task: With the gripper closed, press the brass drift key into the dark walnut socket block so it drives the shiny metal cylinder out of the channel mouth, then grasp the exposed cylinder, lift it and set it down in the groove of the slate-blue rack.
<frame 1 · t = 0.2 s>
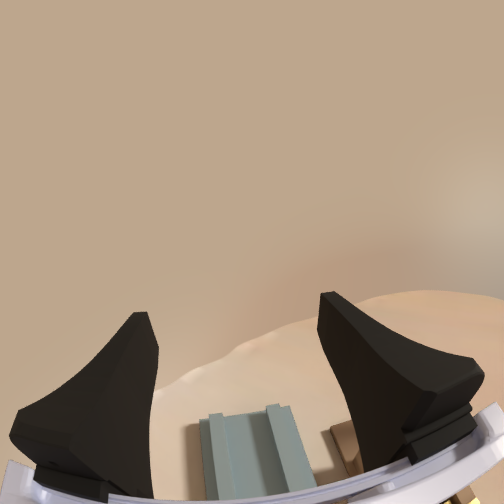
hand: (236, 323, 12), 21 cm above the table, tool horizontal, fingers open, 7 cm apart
socket block: (409, 500, 16), on the table
rack: (254, 463, 23), on the table
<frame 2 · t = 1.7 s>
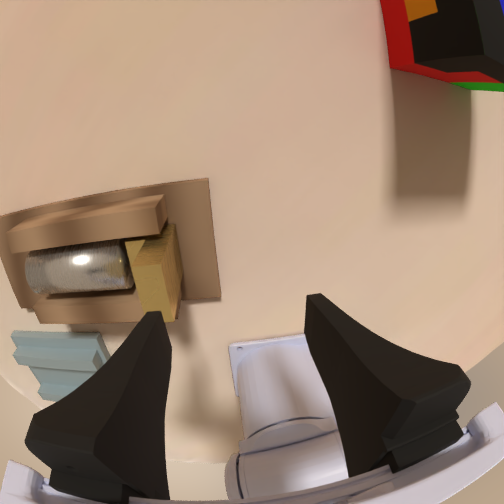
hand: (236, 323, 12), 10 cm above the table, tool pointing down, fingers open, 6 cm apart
drift key: (150, 270, 17), point 4 cm above the table, slide at 0.0 cm
socket block: (112, 249, 20), on the table
shiny metal cylinder: (87, 256, 20), point 1 cm above the table, touching socket block
rack: (70, 366, 25), on the table
puzzle toy: (427, 28, 15), on the table
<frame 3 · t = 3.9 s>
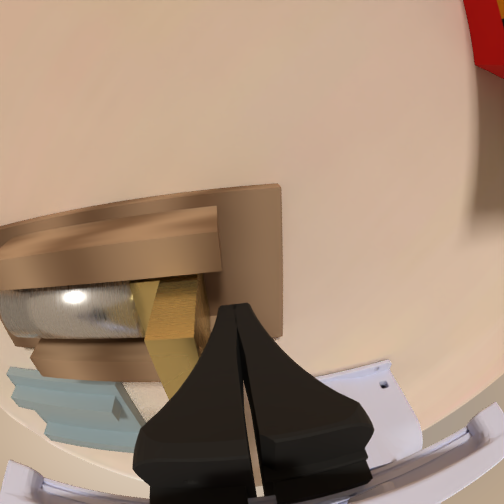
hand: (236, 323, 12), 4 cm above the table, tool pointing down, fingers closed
drift key: (169, 323, 12), point 4 cm above the table, slide at 1.5 cm, touching shiny metal cylinder, gripper
socket block: (135, 280, 15), on the table
shiny metal cylinder: (84, 292, 14), point 1 cm above the table, tilted 15°, touching drift key, socket block
rack: (81, 407, 20), on the table
puzzle toy: (499, 27, 10), on the table
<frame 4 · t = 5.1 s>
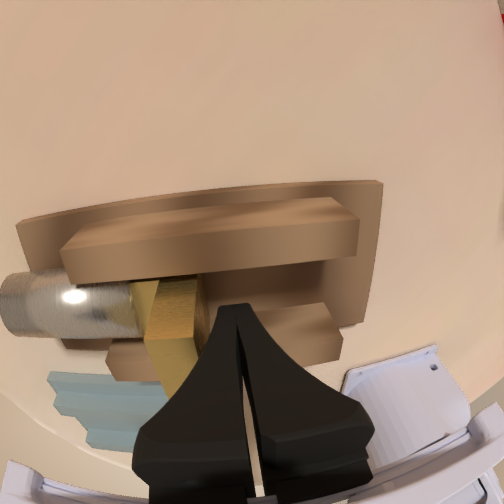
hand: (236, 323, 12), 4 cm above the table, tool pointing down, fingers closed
drift key: (168, 323, 12), point 4 cm above the table, slide at 7.0 cm, touching shiny metal cylinder, gripper
socket block: (232, 270, 16), on the table
shiny metal cylinder: (83, 292, 14), point 1 cm above the table, tilted 15°, touching drift key
rack: (132, 411, 21), on the table
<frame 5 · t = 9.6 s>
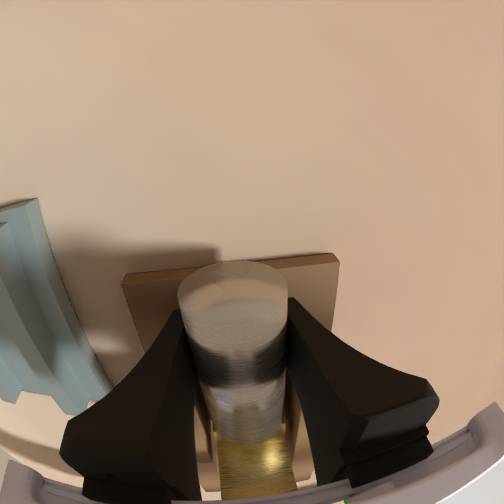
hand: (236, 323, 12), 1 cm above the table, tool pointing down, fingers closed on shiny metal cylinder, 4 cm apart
drift key: (252, 450, 12), point 4 cm above the table, slide at 7.1 cm
socket block: (247, 418, 17), on the table
shiny metal cylinder: (237, 338, 13), point 1 cm above the table, touching gripper, socket block
rack: (11, 315, 12), on the table
when the fingers open (3 cm above the table, at t = 12.6 s): shiny metal cylinder stays where it is, resting on rack.
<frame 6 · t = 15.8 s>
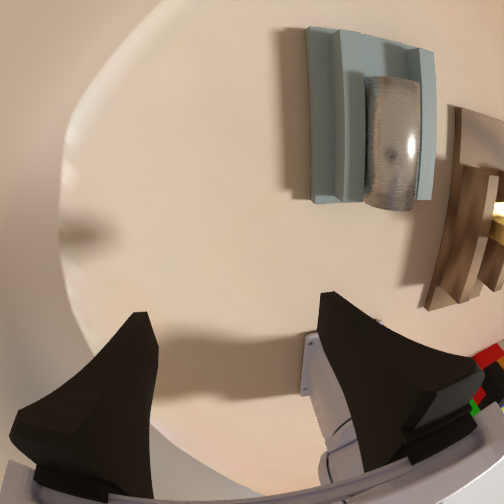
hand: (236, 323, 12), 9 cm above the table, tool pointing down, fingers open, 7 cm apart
socket block: (470, 234, 23), on the table
shiny metal cylinder: (384, 139, 17), point 1 cm above the table, tilted 16°, touching rack
rack: (375, 117, 17), on the table
puzzle toy: (479, 364, 37), on the table
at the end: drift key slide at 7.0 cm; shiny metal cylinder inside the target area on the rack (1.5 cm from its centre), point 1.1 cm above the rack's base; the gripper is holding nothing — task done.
